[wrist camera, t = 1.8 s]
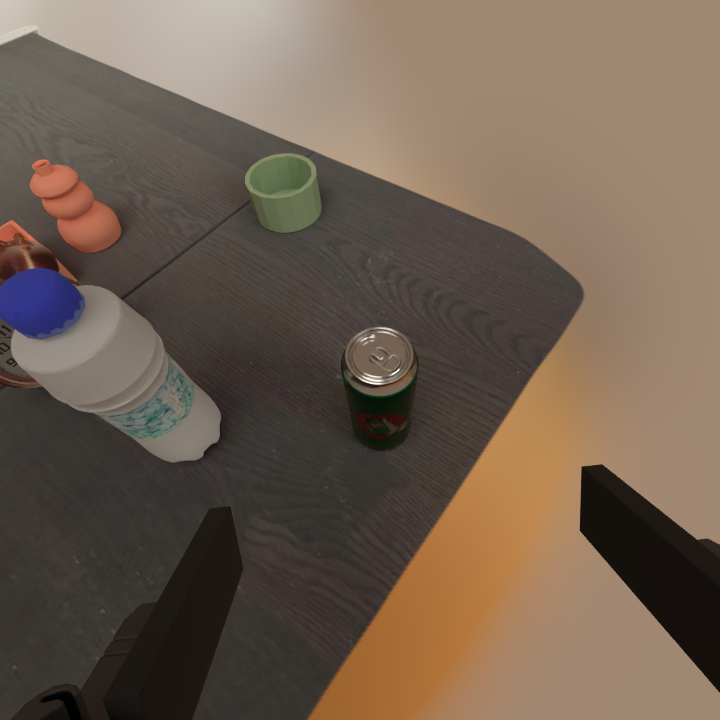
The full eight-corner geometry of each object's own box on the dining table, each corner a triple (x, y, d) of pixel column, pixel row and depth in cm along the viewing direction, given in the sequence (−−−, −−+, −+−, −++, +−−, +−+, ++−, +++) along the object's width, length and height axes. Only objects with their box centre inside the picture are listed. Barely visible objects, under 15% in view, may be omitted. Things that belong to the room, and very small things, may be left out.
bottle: (242, 409, 37) (117, 246, 20) (208, 480, 34) (24, 357, 17) (179, 392, 38) (11, 225, 21) (141, 459, 35) (-94, 325, 18)
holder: (304, 181, 54) (297, 145, 50) (333, 216, 50) (328, 180, 46) (247, 204, 52) (234, 169, 48) (272, 242, 48) (260, 207, 44)
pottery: (3, 331, 43) (-89, 267, 35) (-33, 291, 47) (-125, 224, 38) (141, 237, 50) (91, 164, 42) (100, 208, 54) (47, 135, 45)
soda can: (376, 389, 37) (372, 309, 27) (421, 420, 35) (435, 347, 25) (341, 429, 35) (322, 360, 25) (386, 464, 34) (386, 405, 23)
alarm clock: (45, 413, 38) (-130, 318, 25) (17, 388, 40) (-160, 288, 27) (135, 333, 42) (25, 217, 29) (106, 314, 44) (-10, 196, 31)
